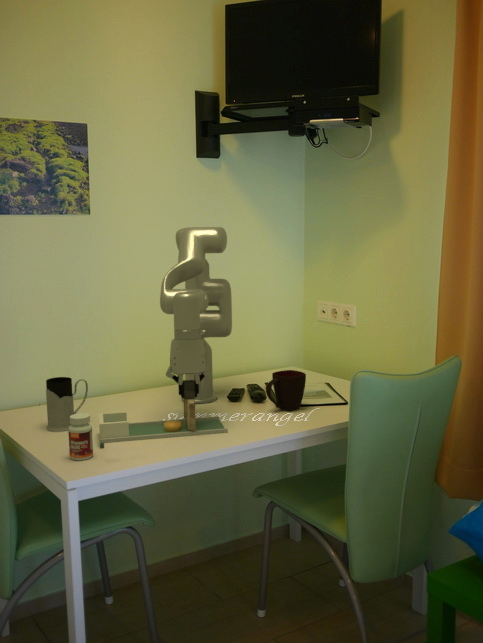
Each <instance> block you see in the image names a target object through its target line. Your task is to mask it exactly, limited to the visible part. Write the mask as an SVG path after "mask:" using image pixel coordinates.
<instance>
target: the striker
mask: <svg viewBox="0 0 483 643" xmlns="http://www.w3.org/2000/svg"><path fill="white" fill-rule="evenodd" d="M183 384H184V397H185V398H183V400H182V401H183V419H185V422H186V426H187V428H188V430H190V431H196V423H195V418H196V403H194V401H193V400H192V399H195V386H194V381H193V380H186V379H185V380H184V379H183Z"/></svg>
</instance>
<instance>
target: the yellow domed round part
mask: <svg viewBox="0 0 483 643" xmlns="http://www.w3.org/2000/svg"><path fill="white" fill-rule="evenodd" d="M164 430H165V431H167V432H177V431H180V430H181V422H180V421H167V422H165V423H164Z"/></svg>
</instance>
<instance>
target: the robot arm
mask: <svg viewBox="0 0 483 643" xmlns="http://www.w3.org/2000/svg"><path fill="white" fill-rule="evenodd" d="M175 244H176V247H177V249H178V258H177V263H176V264H175V265H174V266H172V267H171V268H170V269H169V270H168V272H167V273H166V274H165V275H164V276H163V278H162V282H161V286H160V294H159V306H160V309H161V311H162V312H163V314H166V315H173V334H174V336H173V337H174V338H173V339H171V341H170V349H169V350H170V351H169V366H168V368H167V370H166V372H165V376H166V377H167V378H169V379H171V380H173V381H174V382H175V383H177V384H178V395H179V396H180V398H181V401H183V398H185V397H184V384H183V380H184V376H185V380H193V381H194V386H195V399H192V400H193V401H194V403H195V404H207V403H212V402H215V401H216V400H218V395H217V393H215V392H214V391H213V390H214V387H213V349H212V347H211V345H210V344H209V343H208V341H207V340H206V339H207V338H226V337H227V338H228V337H229V336H230V335H231V333H232V330H233V329H232V328H233V313H232V312H233V307H232V302H233V301H232V288H231V284H230V282H229V281H228V280H227V279H225V278H211V277H210V263H209V261H208V260H207V259H206V254H223V253H224V252H225V250H226V248H227V246H228V235H227V232H226V230H225V227H222V226H205V227H204V226H199V227H198V226H192V227H191V226H190V227H182V228H180V229H178V230H177V231H176V233H175ZM182 283H184V286H185V287H184V288H174V287H176V286H177V285H180V284H182ZM209 307H217V308H218V309H208V308H209Z"/></svg>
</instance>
